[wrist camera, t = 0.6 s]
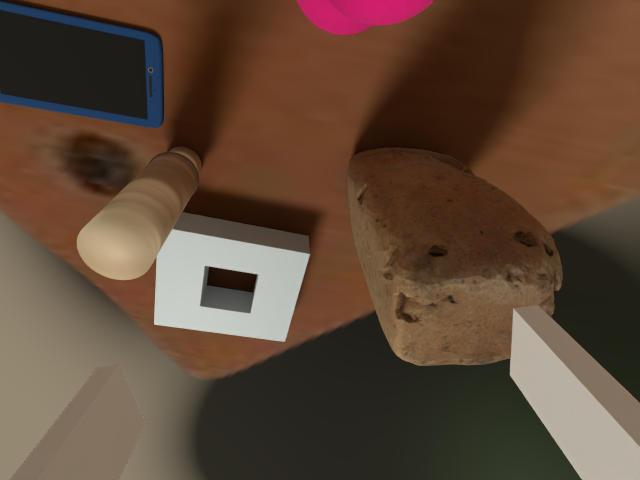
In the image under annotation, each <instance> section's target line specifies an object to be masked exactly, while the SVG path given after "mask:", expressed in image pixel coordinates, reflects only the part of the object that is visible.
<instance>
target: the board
mask: <svg viewBox="0 0 640 480" xmlns="http://www.w3.org/2000/svg"><path fill="white" fill-rule="evenodd" d="M309 256H310V248H309V236H306V235H301V234H296V233H291V232H285V231H280V230H275V229H269V228H264V227H259V226H254V225H248V224H243V223H238V222H233V221H227V220H222V219H217V218H212V217H206V216H201V215H196V214H190V213H185V212H182V213H181V215H180V217H179V219H178V220H177V222H176V224H175V225H174V227H173V229H172V231H171V232H170V234H169V236H168V237H167V239H166V241H165V243H164V244H163V246H162V248H161V250H160V251H159V253H158V255H157V267H156V291H155V315H154V324H155V325H163V326H170V327H178V328H185V329H193V330H200V331H208V332H215V333H223V334H230V335H238V336H245V337H253V338H260V339H268V340H275V341H283V342H285V339H286V336H287V332H288V329H289V325H290V322H291V318H292V315H293V311H294V308H295V304H296V301H297V297H298V294H299V291H300V287H301V284H302V280H303V277H304V273H305V270H306V266H307V263H308V259H309ZM209 266H210V267H216V268H222V269H228V270H234V271H240V272H246V273H253V274H257V278H256V282H255V287H254V292H246V291H240V290H233V289H227V288H221V287H214V286H208V285H207V279H208V271H209Z"/></svg>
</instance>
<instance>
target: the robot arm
mask: <svg viewBox="0 0 640 480" xmlns="http://www.w3.org/2000/svg"><path fill="white" fill-rule="evenodd" d="M510 375H511V377H512V378H513V380H514V381H515V383H516V384H517V386H518V387H519V389H520V390H521V392H522V393H523V394H524V396H525V397H526V399H527V400H528V402H529V403H530V405H531V406H532V407H533V409H534V410H535V412H536V413H537V415H538V416H539V418H540V419H541V420H542V422H543V423H544V425H545V426H546V428H547V429H548V430H549V432H550V434H551V435H552V437H553V438H554V439H555V441H556V442H557V444H558V445H559V447H560V448H561V450H562V451H563V453H564V454H565V455H566V457H567V458H568V460H569V461H570V463H571V464H572V466H573V467H574V469H575V470H576V471H577V473H578V474H579V476H580V477H581V479H582V480H640V403H639V402H638V401H637V400H636V399H635V398H634V397H633V396H632V395H631V394H630V393H629V392H628V391H627V390H626V389H625V388H624V387H622V386H621V385H620V384H619V383H618V382H617V381H616V380H615V379H614V378H613V377H612V376H611V375H610V374H609V373H608V372H607V371H606V370H605V369H604V368H603V367H602V366H600V364H599V363H598V362H597V361H595V360H594V359H593V358H592V357H591V356H590V355H589V354H588V353H587V352H586V351H585V350H584V349H583V348H582V347H581V346H580V345H579V344H578V343H577V342H576V341H575V340H574V339H573V338H572V337H571V336H569V335H568V334H567V333H566V332H565V331H564V330H563V329H562V328H561V327H560V326H559V325H558V324H557V323H556V322H555V321H554V320H553V319H552V318H551V317H550V316H549V315H548V314H547V313H546V312H545V311H544V310H542V309H541V308H540V307H539V306H538V305H533V306H526V307H519V308H513V325H512V344H511V363H510ZM146 424H147V423H146V421H145V419H144V417H143V415H142V412H141V410H140V408H139V406H138V404H137V402H136V400H135V398H134V396H133V393H132V392H131V389H130V387H129V385H128V383H127V381H126V379H125V376H124V374H123V372H122V370H121V368H120V366H119V365H112V366H106V367H98V368H97V369H96V370H95V371H94V372H93V374H92V375H91V376H90V377H89V379H88V380H87V381H86V383H85V384H84V385H83V386H82V388H81V389H80V390H79V392H78V393H77V394H76V395H75V397H74V398H73V399H72V401H71V402H70V403H69V404H68V406H67V407H66V408H65V410H64V411H63V412H62V414H61V415H60V416H59V417H58V419H57V420H56V421H55V422H54V424H53V425H52V426H51V428H50V429H49V430H48V432H47V433H46V434H45V435H44V437H43V438H42V439H41V440H40V442H39V443H38V444H37V446H36V447H35V448H34V449H33V451H32V452H31V453H30V455H29V456H28V457H27V458H26V460H25V461H24V462H23V464H22V465H21V466H20V467H19V469H18V470H17V471H16V473H15V474H14V475H13V477H12V478H11V479H10V480H119V478H120V476H121V474H122V472H123V470H124V468H125V466H126V464H127V462H128V460H129V458H130V455H131V454H132V452H133V450H134V448H135V446H136V444H137V442H138V440H139V438H140V436H141V434H142V432H143V430H144V428H145V426H146Z"/></svg>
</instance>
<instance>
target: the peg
mask: <svg viewBox="0 0 640 480" xmlns="http://www.w3.org/2000/svg"><path fill="white" fill-rule="evenodd" d="M201 168H202V164H201V160H200V158H199V156H198V155H197V154H196V153H195V152H194V151H193V150H192V149H190V148H187V147H183V146H178V147H174V148H172V149H171V150H170V151H169V152H165V153H161V154H158V155H157V156H155V157H154V158H153V159H152V160H151V161H150V162H149V164H148V165H147V166H146V167H145V168H144V169H143V170H142V171H141V172H140V173H139V174H138V175H137V176H136V177H135V178H134V179H133V180H132V181H131V182H130V183H129V184H128V185H127V186H126V187H125V188H124V189H123V190H122V191H121V192H120V193H119V194H118V195H117V196H115V197H114V198H113V199H112V200H111V201H110V202H109V203H108V204H107V205H106V206H105V207H104V208H103V209H102V210H101V211H100V212H99V213H98V214H97V215H96V216H95V217H94V218H93V219H92V220H91V221H90V222H89V223H88V224H87V225H86V226H85V227H84V228H83V229H82V230H81V231H80V233H79V235H78V239H77V248H78V251H79V254H80V256H81V258H82V259H83V261H84V262H85V263H86V264H87V265H88V266H89V267H90V268H91V269H93V270H94V271H96V272H97V273H99V274H101V275H103V276H106V277H109V278H112V279H118V280H130V279H134V278H137V277H140V276H142V275H143V274H145V273H146V272H147V271H148V270H149V268H150V267H151V265H152V263H153V262H154V260H155V258H156V256H157V255H158V253H159V251H160V250H161V248H162V246H163V244H164V243H165V241H166V239H167V237H168V236H169V234H170V232H171V231H172V229H173V227H174V225H175V224H176V222H177V220H178V219H179V217H180V215H181V213H182V212H183V210H184V208H185V207H186V205H187V203H188V201H189V200H190V198H191V196H192V195H193V194H194V193H195V191H196V190H197V188H198V185H199V173H200V172H201Z"/></svg>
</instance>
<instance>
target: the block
mask: <svg viewBox="0 0 640 480" xmlns="http://www.w3.org/2000/svg"><path fill="white" fill-rule="evenodd" d="M347 194H348V204H349V214H350V220H351V226H352V232H353V238H354V242H355V246H356V248H357V252H358V255H359V259H360V263H361V266H362V269H363V272H364V275H365V279H366V282H367V285H368V289H369V292H370V295H371V298H372V302H373V304H374V307H375V309H376V312H377V315H378V318H379V321H380V324H381V326H382V329H383V331H384V333H385V335H386V338H387V340H388V342H389V344H390V346H391V347H392V349H393V351H394V352H395V353H396V355H397V356H399V357H400V358H402V359H403V360H405V361H408V362H411V363H414V364H416V365H419V366H427V365H428V366H429V365H445V364H460V365H480V364H481V365H482V364H488V363H493V362H496V361H500V360H504V359H509V358H511V344H512V325H513V308H519V307H526V306H533V305H538V306H539V307H540V308H541V309H542V310H544V311H545V312H546V313H547V314H548V315H549V316H550V317H551V316H552V314H553V312H554V306H555V304H554V302H553V301H554V295H553V291H554V290H559V289H560V288H561V283H562V279H563V278H562V266H561V261H560V257H559V253H558V251H557V249H556V247H555V242H554V240H553V239H552V237H551V235H550V234H549V233H548V232H547V231H546V230H545V228H544V226H543V225H542V224H541V223H540V222H539V221H538V220H537V219H535V218H534V217H533V216H532V215H531V214H529V213H528V212H527V211H526V210H525V208H524V207H523V206H521V205H520V204H519V203H518V202H517V201H515V200H514V199H513V198H511V197H510V196H509V195H507V194H506V193H505V192H503V191H501V190H500V189H498V188H497V187H495V186H494V185H492V184H490V183H488V182H487V181H486V180H484V179H482V178H479V177H477V176H475V174H474V173H473V172H472V171H471V170H470V169H469V168H468V167H466V166H465V165H464V164H462V163H461V162H460V161H458V160H457V159H455V158H453V157H451V156H449V155H446V154H440V153H437V152H432V151H428V150H422V149H414V148H399V147H391V148H377V149H372V150H366V151H363V152H360V153H358V154H356V155H354V156H353V157H352V158H351V159H350V162H349V167H348V174H347Z"/></svg>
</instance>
